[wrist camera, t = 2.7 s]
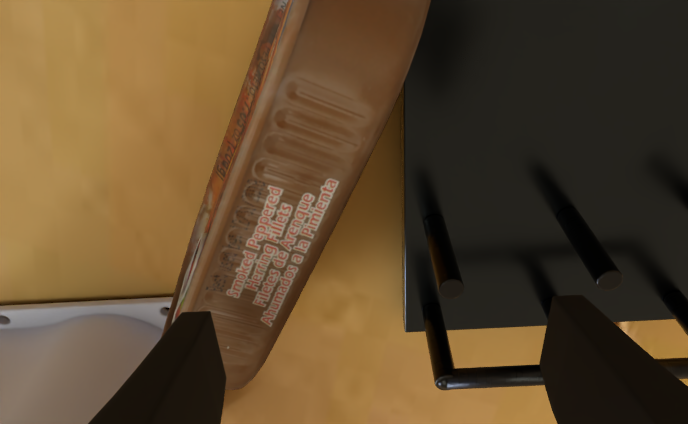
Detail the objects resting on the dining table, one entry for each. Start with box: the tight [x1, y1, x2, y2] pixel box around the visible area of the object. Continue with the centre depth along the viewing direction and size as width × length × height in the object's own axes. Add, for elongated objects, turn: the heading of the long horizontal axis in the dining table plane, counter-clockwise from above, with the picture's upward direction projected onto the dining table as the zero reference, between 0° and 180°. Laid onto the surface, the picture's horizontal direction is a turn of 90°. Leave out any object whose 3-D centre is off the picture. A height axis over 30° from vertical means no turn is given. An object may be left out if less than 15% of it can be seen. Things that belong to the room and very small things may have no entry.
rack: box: [401, 0, 688, 390], centre depth 17 cm, size 12×20×5 cm, turn 4°
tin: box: [161, 0, 431, 390], centre depth 15 cm, size 15×3×8 cm, turn 156°
